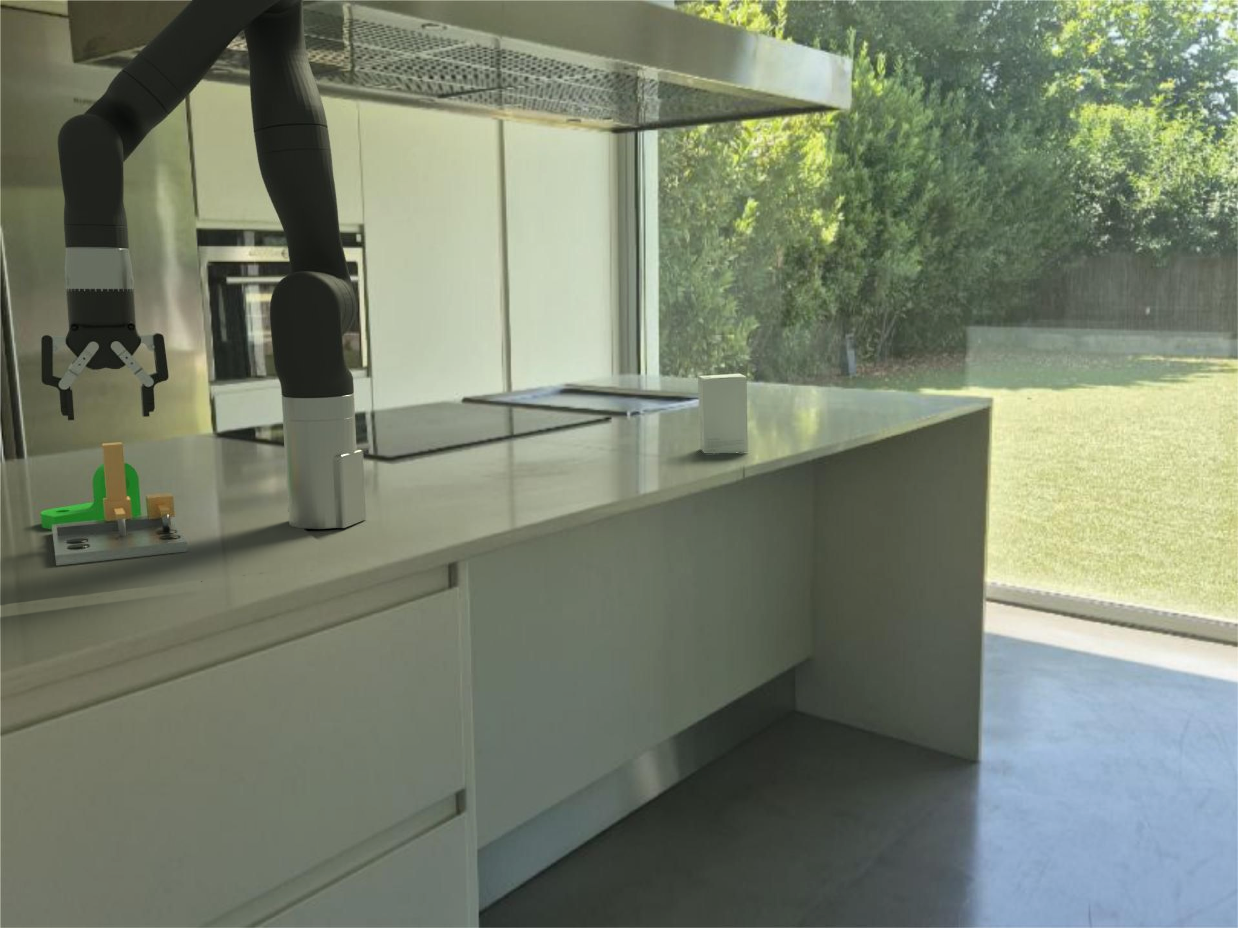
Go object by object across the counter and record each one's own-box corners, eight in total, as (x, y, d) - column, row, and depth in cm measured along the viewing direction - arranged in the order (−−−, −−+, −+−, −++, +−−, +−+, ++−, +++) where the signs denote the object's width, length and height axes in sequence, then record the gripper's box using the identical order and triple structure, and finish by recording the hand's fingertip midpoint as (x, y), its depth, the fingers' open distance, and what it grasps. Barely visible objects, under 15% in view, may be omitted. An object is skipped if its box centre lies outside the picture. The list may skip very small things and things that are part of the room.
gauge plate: (168, 522, 151) (165, 486, 151) (187, 551, 134) (184, 510, 133) (52, 533, 145) (49, 496, 144) (56, 565, 127) (52, 523, 127)
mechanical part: (118, 512, 160) (113, 456, 159) (141, 516, 157) (137, 459, 156) (33, 526, 151) (27, 467, 150) (56, 531, 147) (50, 471, 146)
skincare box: (742, 453, 209) (742, 373, 207) (748, 457, 203) (749, 375, 201) (697, 454, 208) (697, 374, 206) (702, 459, 202) (702, 376, 200)
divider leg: (130, 523, 144) (124, 441, 142) (136, 534, 137) (129, 448, 135) (105, 525, 143) (98, 443, 141) (109, 537, 136) (102, 450, 134)
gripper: (159, 286, 144) (166, 412, 147) (34, 286, 138) (44, 417, 140) (165, 286, 138) (173, 418, 140) (34, 285, 131) (44, 424, 134)
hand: (108, 418), depth 140 cm, fingers open, 8 cm apart
